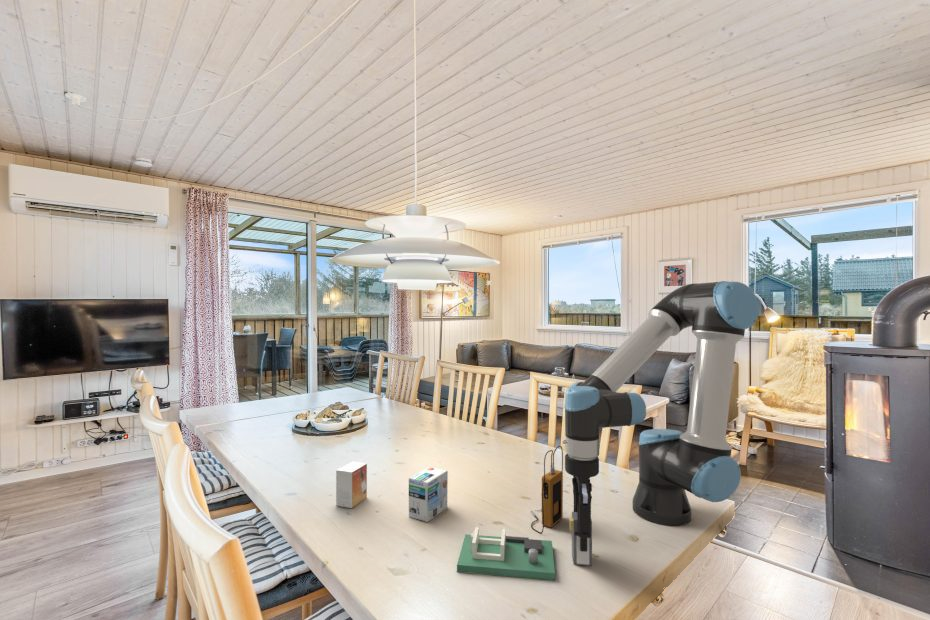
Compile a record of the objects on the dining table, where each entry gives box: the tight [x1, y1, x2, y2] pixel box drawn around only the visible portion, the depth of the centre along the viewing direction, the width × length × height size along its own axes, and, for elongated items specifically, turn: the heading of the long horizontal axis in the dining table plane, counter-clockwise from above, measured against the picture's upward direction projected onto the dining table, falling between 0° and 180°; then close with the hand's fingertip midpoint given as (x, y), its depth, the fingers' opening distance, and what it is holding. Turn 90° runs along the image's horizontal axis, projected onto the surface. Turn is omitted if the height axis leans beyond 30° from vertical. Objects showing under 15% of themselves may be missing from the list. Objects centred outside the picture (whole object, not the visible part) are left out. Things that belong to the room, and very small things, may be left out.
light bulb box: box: [408, 466, 449, 523], centre depth 123 cm, size 11×7×11 cm, turn 151°
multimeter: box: [529, 445, 564, 534], centre depth 119 cm, size 15×10×20 cm
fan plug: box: [569, 511, 593, 567], centre depth 100 cm, size 5×4×10 cm
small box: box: [335, 461, 368, 509], centre depth 130 cm, size 8×6×10 cm
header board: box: [456, 526, 556, 581], centre depth 100 cm, size 21×13×5 cm, turn 82°
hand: (581, 557), depth 100 cm, fingers closed on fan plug, 4 cm apart
